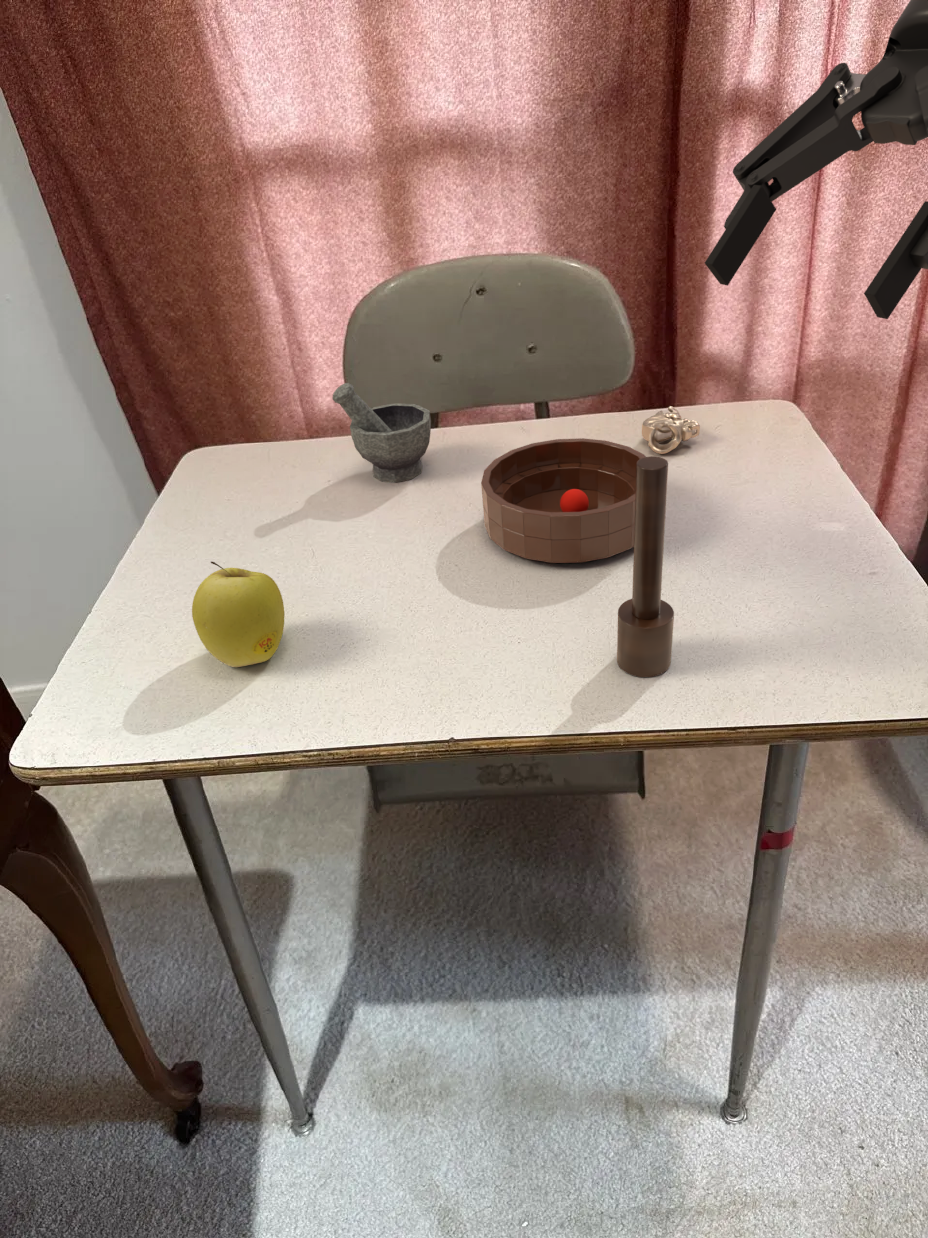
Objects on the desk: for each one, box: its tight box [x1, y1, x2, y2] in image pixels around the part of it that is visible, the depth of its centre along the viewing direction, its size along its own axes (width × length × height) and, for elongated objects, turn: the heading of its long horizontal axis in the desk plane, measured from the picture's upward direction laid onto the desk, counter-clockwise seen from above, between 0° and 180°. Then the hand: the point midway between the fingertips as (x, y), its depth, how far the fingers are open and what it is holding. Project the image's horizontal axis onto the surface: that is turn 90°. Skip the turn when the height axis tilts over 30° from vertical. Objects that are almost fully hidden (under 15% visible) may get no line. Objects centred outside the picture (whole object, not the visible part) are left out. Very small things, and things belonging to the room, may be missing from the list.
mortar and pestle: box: [332, 382, 432, 483], centre depth 100 cm, size 11×9×12 cm
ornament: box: [641, 405, 701, 455], centre depth 102 cm, size 8×7×4 cm
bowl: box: [480, 437, 647, 564], centre depth 87 cm, size 18×18×6 cm
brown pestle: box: [616, 456, 675, 678], centre depth 65 cm, size 4×4×18 cm
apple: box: [191, 561, 286, 668], centre depth 73 cm, size 8×8×10 cm
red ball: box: [560, 489, 589, 512], centre depth 88 cm, size 3×3×3 cm
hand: (788, 289), depth 59 cm, fingers open, 13 cm apart
